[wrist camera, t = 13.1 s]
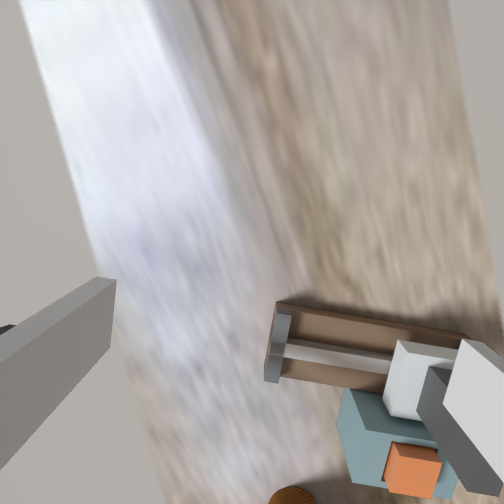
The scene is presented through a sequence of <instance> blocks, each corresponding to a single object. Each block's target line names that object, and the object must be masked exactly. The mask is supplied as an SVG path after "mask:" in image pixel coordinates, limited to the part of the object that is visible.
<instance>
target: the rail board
mask: <svg viewBox="0 0 504 504" xmlns="http://www.w3.org/2000/svg"><path fill="white" fill-rule="evenodd" d="M462 339H467V340H471V339H470V338H469V337H468V336H466V335H465V334H461V333H455V332H449V331H444V330H438V329H432V328H426V327H420V326H414V325H408V324H402V323H397V322H391V321H385V320H379V319H373V318H367V317H361V316H355V315H349V314H344V313H338V312H332V311H326V310H320V309H314V308H308V307H302V306H296V305H291V304H285V303H279V302H276V304H275V310H274V315H273V320H272V325H271V331H270V336H269V341H268V347H267V352H266V357H265V363H264V381H266V382H272V383H279V378H280V376H281V377H286V378H292V379H298V380H304V381H310V382H316V383H322V384H328V385H334V386H339V387H345V388H351V389H357V390H363V391H369V392H375V393H381V394H383V393H384V390H385V386H386V382H387V378H388V374H389V370H390V367H391V363H392V359H393V355H394V351H395V348H396V344H397V340H403V341H409V342H415V343H421V344H427V345H433V346H438V347H444V348H450V349H456V350H459V347H460V344H461V341H462Z"/></svg>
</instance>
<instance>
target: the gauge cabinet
mask: <svg viewBox="0 0 504 504" xmlns="http://www.w3.org/2000/svg"><path fill="white" fill-rule="evenodd" d="M382 397H383V394H381V393H375V392H369V391H363V390H357V389H351V388H345V389H344V393H343V397H342V402H341V406H340V410H339V414H338V418H337V422H336V427H337V430H338V434H339V437H340V441H341V444H342V448H343V451H344V455H345V458H346V462H347V465H348V469H349V473H350V476H351V480H352V483H358V484H363V485H369V486H375V487H381V488H387V489H388V487H387V484H386V482H385V479H384V477H383V471H384V468H385V464H386V460H387V457H388V453H389V449H390V446H391V442H392V441H395V442H401V443H407V444H413V445H419V446H424V447H430V448H433V449H434V450H435V452H436V454H437V455H438V457H439V459H440V460H441V462H442V466H441V469H440V472H439V476H438V479H437V482H436V485H435V488H434V492H433V495H432V496H434V497H440V498H446V499H452V496H453V493H454V490H455V487H456V484H457V481H458V476H457V475H456V473H455V472H454V470H453V468H452V467H451V465H450V464H449V462H448V461H447V459H446V457H445V456H444V454H443V453H442V451H441V450H440V448H439V446H438V445H437V443H436V442H435V440H434V439H433V437H432V435H431V434H430V432H429V431H428V429H427V428H426V426H425V424H424V423H423V421H418V420H412V419H407V418H401V417H395V416H391V415H390V413H389V411H388V409H387V407H386V405H385V403H384V402H383V400H382Z"/></svg>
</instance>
